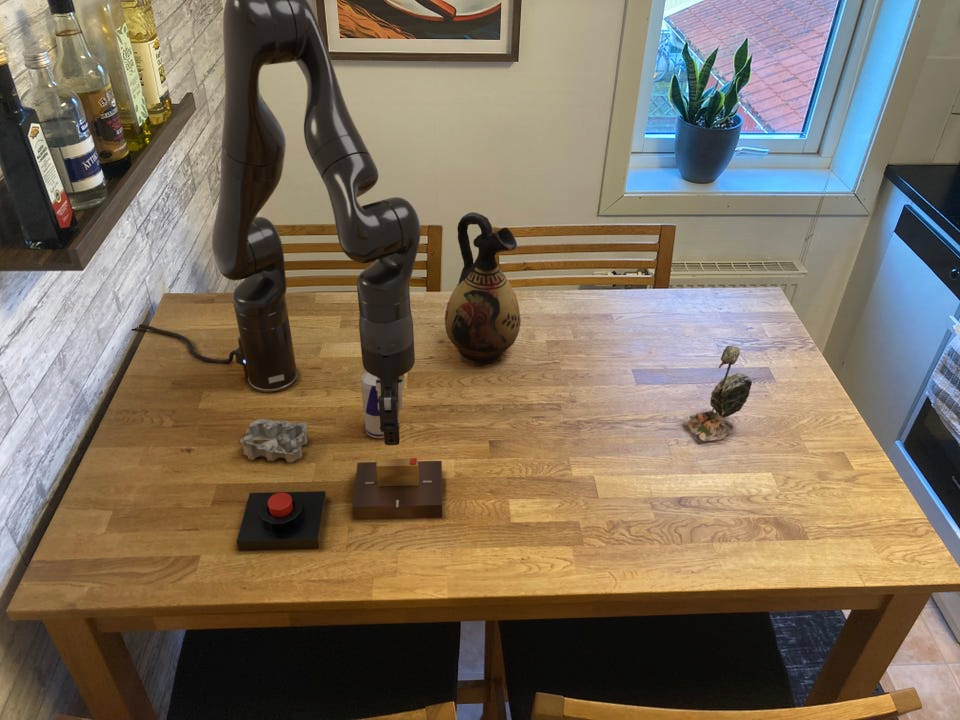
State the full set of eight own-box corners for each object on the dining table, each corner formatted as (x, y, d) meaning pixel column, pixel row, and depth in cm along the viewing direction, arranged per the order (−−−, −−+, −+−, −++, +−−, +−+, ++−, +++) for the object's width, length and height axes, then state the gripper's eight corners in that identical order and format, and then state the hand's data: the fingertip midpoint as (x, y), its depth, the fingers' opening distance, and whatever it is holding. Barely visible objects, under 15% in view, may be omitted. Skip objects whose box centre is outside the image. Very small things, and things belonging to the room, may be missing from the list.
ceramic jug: (532, 346, 160) (542, 215, 142) (494, 383, 149) (499, 246, 131) (465, 321, 167) (466, 194, 149) (424, 355, 156) (420, 222, 139)
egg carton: (238, 459, 130) (234, 442, 128) (255, 431, 136) (251, 413, 134) (298, 466, 129) (295, 448, 127) (312, 436, 135) (309, 419, 133)
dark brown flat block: (353, 521, 119) (351, 507, 117) (359, 473, 128) (357, 460, 126) (442, 519, 120) (442, 505, 118) (441, 472, 129) (441, 458, 127)
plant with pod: (752, 437, 137) (779, 347, 125) (694, 446, 135) (717, 355, 123) (730, 409, 144) (754, 321, 132) (675, 417, 141) (695, 328, 130)
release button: (267, 518, 115) (265, 510, 114) (271, 500, 118) (269, 492, 117) (291, 517, 115) (289, 509, 114) (294, 500, 118) (293, 492, 117)
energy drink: (390, 441, 135) (386, 388, 127) (361, 437, 135) (356, 384, 128) (398, 422, 139) (395, 369, 132) (370, 418, 140) (366, 365, 133)
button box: (238, 551, 114) (234, 533, 112) (251, 502, 122) (247, 484, 120) (319, 549, 115) (316, 531, 112) (326, 500, 123) (324, 482, 120)
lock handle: (378, 486, 121) (376, 465, 119) (378, 479, 123) (376, 458, 120) (418, 485, 122) (417, 464, 119) (418, 478, 123) (417, 457, 120)
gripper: (363, 310, 112) (371, 397, 121) (356, 367, 100) (365, 457, 110) (414, 309, 112) (418, 395, 122) (412, 366, 101) (417, 456, 110)
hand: (393, 425), depth 116 cm, fingers open, 8 cm apart
